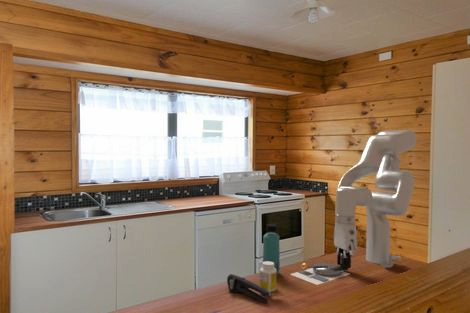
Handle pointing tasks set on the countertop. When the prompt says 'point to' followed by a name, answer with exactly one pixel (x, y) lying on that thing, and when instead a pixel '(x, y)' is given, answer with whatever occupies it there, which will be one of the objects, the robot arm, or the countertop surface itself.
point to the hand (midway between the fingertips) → (343, 265)
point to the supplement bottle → (268, 277)
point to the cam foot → (327, 268)
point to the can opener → (246, 287)
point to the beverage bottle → (271, 247)
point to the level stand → (316, 276)
